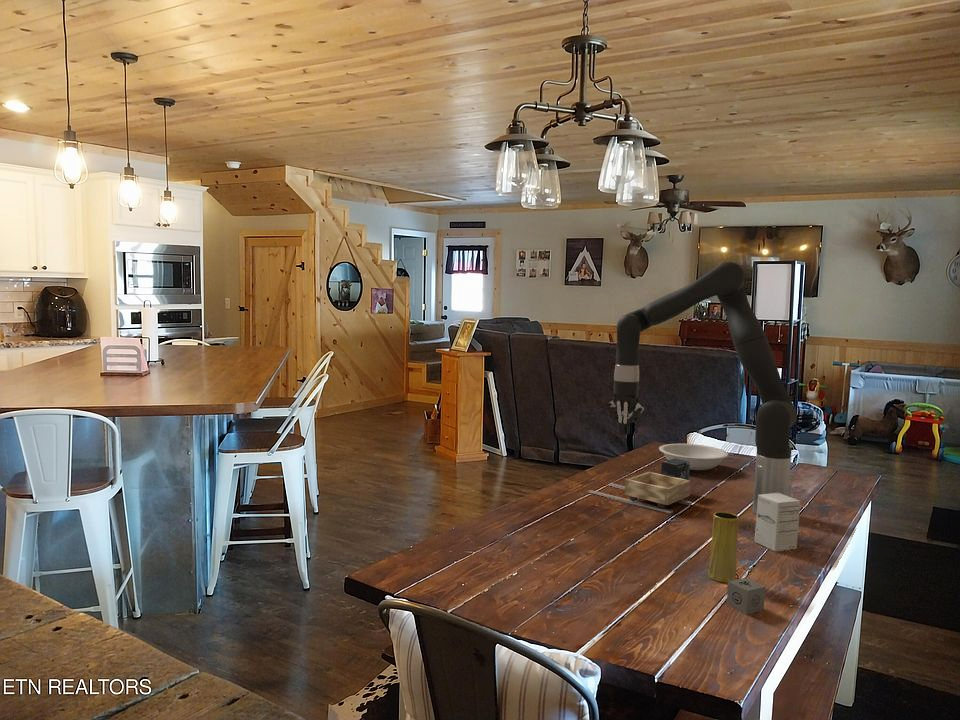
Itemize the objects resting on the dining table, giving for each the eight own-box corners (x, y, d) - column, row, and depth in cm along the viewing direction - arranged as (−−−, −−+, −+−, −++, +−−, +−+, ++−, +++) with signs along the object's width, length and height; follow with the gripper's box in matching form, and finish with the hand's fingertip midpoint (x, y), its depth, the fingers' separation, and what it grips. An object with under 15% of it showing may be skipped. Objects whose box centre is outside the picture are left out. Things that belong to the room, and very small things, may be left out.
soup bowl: (734, 467, 265) (735, 449, 264) (717, 481, 245) (718, 461, 244) (669, 457, 278) (670, 440, 277) (649, 469, 257) (650, 451, 257)
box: (675, 498, 222) (677, 464, 221) (659, 494, 226) (661, 461, 225) (688, 493, 228) (690, 461, 227) (672, 489, 232) (674, 457, 231)
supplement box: (753, 542, 185) (756, 494, 184) (776, 539, 188) (779, 491, 186) (774, 552, 178) (778, 502, 177) (797, 549, 181) (801, 500, 179)
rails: (691, 504, 217) (692, 501, 216) (670, 513, 206) (670, 511, 206) (611, 485, 235) (611, 483, 235) (587, 493, 225) (587, 491, 225)
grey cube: (743, 600, 150) (745, 577, 149) (763, 610, 145) (765, 586, 145) (726, 605, 147) (728, 581, 147) (745, 615, 143) (747, 590, 142)
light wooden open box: (689, 500, 217) (690, 480, 217) (667, 510, 207) (668, 489, 206) (647, 490, 226) (648, 471, 226) (624, 499, 216) (625, 479, 215)
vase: (713, 570, 165) (717, 509, 164) (740, 577, 162) (744, 515, 160) (703, 577, 161) (707, 515, 159) (730, 585, 157) (734, 521, 155)
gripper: (652, 380, 220) (649, 436, 222) (614, 376, 229) (611, 430, 230) (639, 382, 214) (637, 440, 216) (601, 378, 223) (599, 433, 225)
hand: (624, 434), depth 223 cm, fingers closed
